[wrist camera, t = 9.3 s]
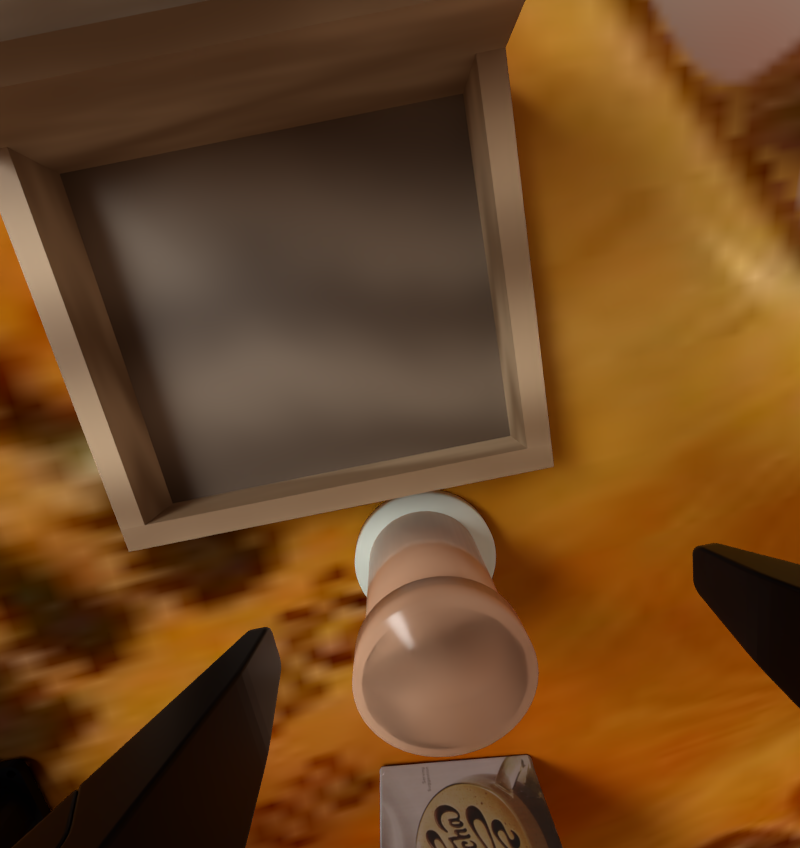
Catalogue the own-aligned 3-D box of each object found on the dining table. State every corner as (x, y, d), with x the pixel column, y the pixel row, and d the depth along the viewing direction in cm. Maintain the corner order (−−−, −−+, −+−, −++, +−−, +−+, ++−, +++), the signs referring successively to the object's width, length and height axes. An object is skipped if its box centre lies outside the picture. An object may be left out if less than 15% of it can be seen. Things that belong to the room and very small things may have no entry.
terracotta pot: (492, 602, 20) (548, 736, 13) (376, 625, 20) (373, 772, 13) (474, 494, 19) (526, 581, 12) (351, 518, 19) (333, 620, 12)
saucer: (500, 598, 21) (504, 608, 20) (371, 624, 21) (371, 635, 20) (480, 476, 20) (485, 482, 19) (342, 504, 20) (340, 510, 19)
